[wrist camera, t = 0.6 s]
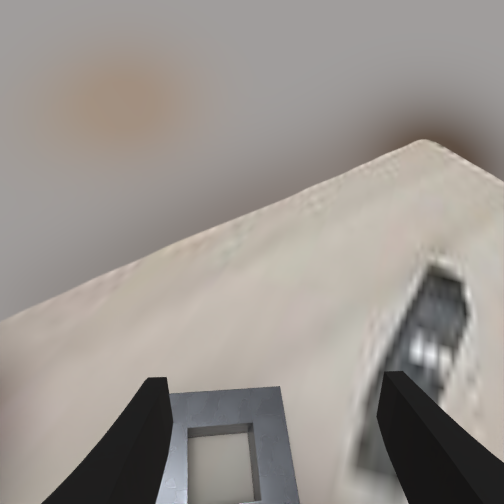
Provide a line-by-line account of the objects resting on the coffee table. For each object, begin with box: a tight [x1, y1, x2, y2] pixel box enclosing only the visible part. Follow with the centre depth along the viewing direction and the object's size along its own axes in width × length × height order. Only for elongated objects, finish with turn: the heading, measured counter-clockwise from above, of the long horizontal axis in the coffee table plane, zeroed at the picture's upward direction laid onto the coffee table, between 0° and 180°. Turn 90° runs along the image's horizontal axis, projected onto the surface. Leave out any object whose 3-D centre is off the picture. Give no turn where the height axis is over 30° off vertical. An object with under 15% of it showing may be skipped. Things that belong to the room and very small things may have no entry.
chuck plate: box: [156, 386, 300, 504], centre depth 23 cm, size 9×9×2 cm
